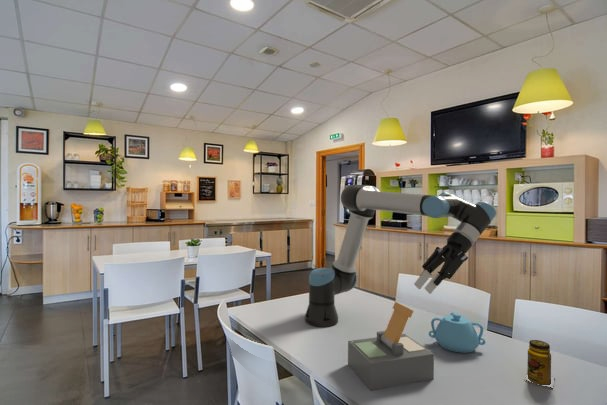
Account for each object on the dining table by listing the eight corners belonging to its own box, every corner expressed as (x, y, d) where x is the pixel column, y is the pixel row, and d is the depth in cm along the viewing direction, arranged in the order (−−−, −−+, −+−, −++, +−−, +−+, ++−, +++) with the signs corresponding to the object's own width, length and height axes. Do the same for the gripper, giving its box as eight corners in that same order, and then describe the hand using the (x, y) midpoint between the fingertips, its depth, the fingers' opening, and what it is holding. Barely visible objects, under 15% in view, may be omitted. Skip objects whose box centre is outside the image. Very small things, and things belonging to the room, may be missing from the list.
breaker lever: (385, 342, 113) (401, 304, 115) (397, 352, 106) (413, 311, 108) (379, 340, 112) (394, 301, 114) (390, 349, 106) (407, 308, 107)
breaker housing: (403, 355, 121) (404, 325, 120) (433, 379, 105) (434, 344, 105) (347, 364, 114) (348, 332, 114) (370, 390, 99) (371, 353, 99)
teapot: (428, 351, 124) (429, 317, 124) (428, 331, 143) (428, 301, 143) (488, 360, 118) (489, 324, 118) (480, 338, 136) (480, 307, 136)
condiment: (524, 381, 105) (524, 343, 104) (527, 370, 111) (528, 334, 111) (553, 390, 100) (554, 350, 100) (555, 378, 106) (556, 341, 106)
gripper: (489, 249, 110) (447, 304, 105) (450, 242, 127) (412, 289, 122) (477, 234, 108) (433, 288, 103) (438, 228, 125) (400, 275, 121)
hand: (422, 288), depth 113 cm, fingers open, 5 cm apart
